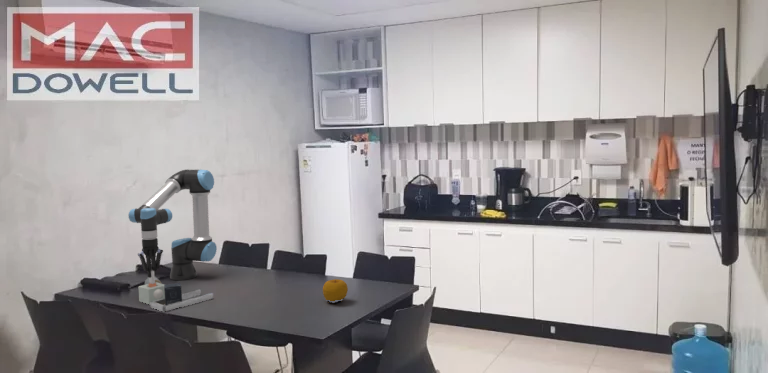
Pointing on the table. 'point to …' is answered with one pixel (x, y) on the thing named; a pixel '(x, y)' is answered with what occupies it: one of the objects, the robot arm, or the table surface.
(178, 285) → the box
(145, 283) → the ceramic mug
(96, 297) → the table surface
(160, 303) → the rail
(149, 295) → the cabinet
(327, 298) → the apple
